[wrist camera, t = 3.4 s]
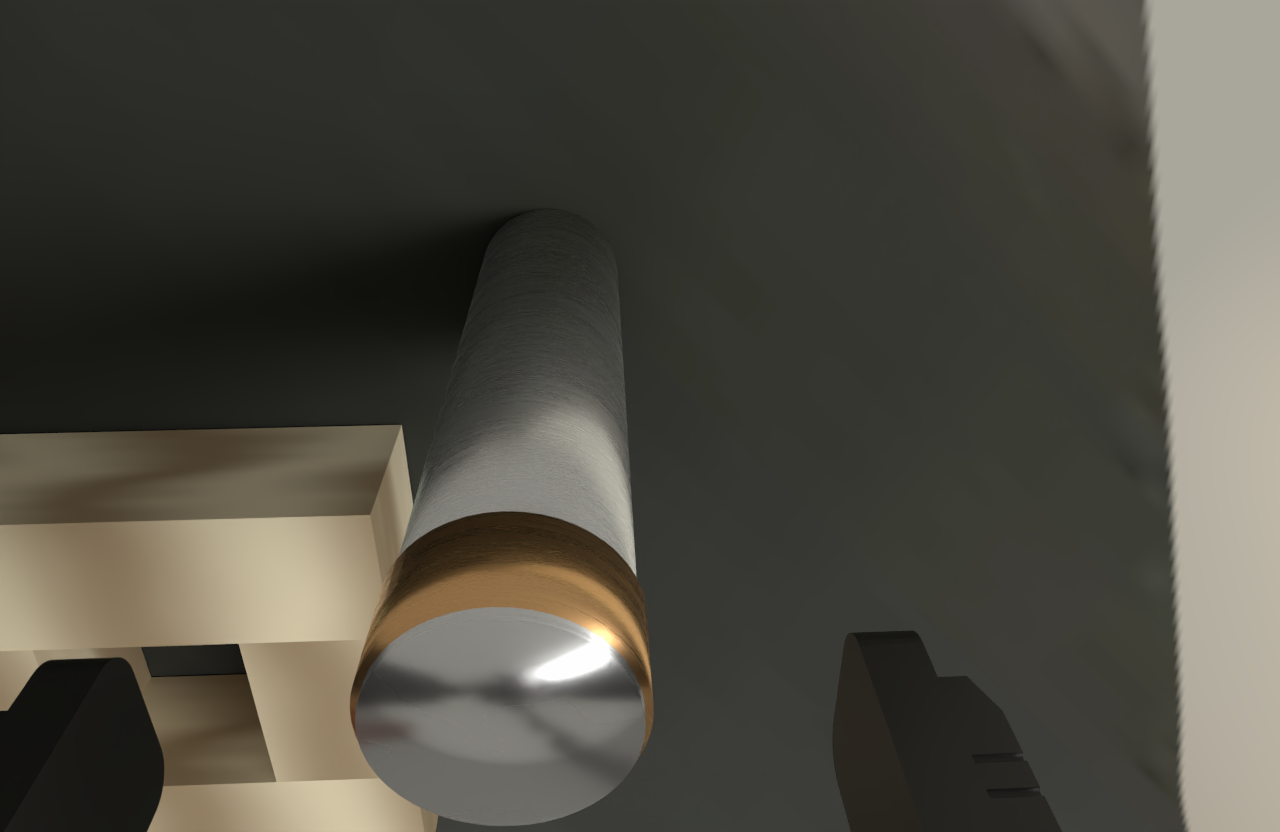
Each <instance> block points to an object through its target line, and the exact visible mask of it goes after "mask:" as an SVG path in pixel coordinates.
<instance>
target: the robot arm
mask: <svg viewBox="0 0 1280 832" xmlns="http://www.w3.org/2000/svg"><path fill="white" fill-rule="evenodd" d="M833 757H834V765H835V772H836V777H837V782H838V786H839V789H840V793H841V797H842V800H843V804H844V808H845V811H846V815H847V819H848V822H849V826H850V830H851V832H1062V831H1061V829H1060V827H1059V825H1058V823H1057V821H1056V819H1055V817H1054V815H1053V813H1052V811H1051V809H1050V807H1049V804H1048V802H1047V800H1046V798H1045V796H1041V794H1040V786H1039V784H1038V782H1037V780H1036V778H1035V776H1034V774H1033V772H1032V770H1031V768H1030V766H1029V764H1028V762H1027V761H1024V759H1023V752H1022V750H1021V748H1020V745H1019V743H1018V741H1017V739H1016V737H1015V735H1014V733H1013V731H1012V729H1011V727H1010V725H1009V723H1008V721H1007V719H1006V717H1005V715H1004V713H1003V711H1002V710H1001V709H1000V708H999V707H998V706H997V705H996V704H995V703H994V702H993V701H992V700H991V699H990V698H989V697H988V696H987V695H986V694H985V693H984V692H983V691H981V690H980V689H979V688H978V687H977V686H976V685H975V684H974V683H973V682H972V681H971V680H970V679H969V678H968V677H967V676H956V677H937V674H936V672H935V670H934V667H933V665H932V663H931V660H930V658H929V656H928V653H927V651H926V649H925V647H924V644H923V642H922V640H921V638H920V637H919V635H918V634H917V633H916V632H915V631H889V632H861V633H849V634H848V635H847V637H846V639H845V643H844V648H843V656H842V663H841V670H840V678H839V685H838V692H837V700H836V707H835V714H834V722H833ZM163 784H164V757H163V752H162V749H161V746H160V743H159V740H158V737H157V735H156V732H155V729H154V726H153V724H152V721H151V718H150V715H149V713H148V710H147V707H146V704H145V701H144V699H143V696H142V693H141V690H140V688H139V685H138V682H137V679H136V677H135V674H134V671H133V669H132V667H131V665H130V664H129V662H128V661H127V660H125V659H124V658H121V657H113V658H85V659H58V660H49V661H46V662H44V663H43V664H41V665H40V666H39V667H38V668H37V669H36V670H35V672H34V673H33V674H32V676H31V677H30V679H29V680H28V682H27V683H26V685H25V686H24V687H23V689H22V690H21V692H20V693H19V695H18V696H17V698H16V699H15V701H14V702H13V703H12V705H11V706H10V708H9V709H8V710H7V711H0V832H147V831H148V829H149V826H150V824H151V822H152V820H153V818H154V815H155V813H156V811H157V808H158V805H159V802H160V799H161V795H162V790H163Z"/></svg>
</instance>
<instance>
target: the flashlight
mask: <svg viewBox="0 0 1280 832" xmlns="http://www.w3.org/2000/svg"><path fill="white" fill-rule="evenodd" d="M653 714H654V709H653V695H652V681H651V668H650V654H649V640H648V627H647V614H646V603H645V599H644V595H643V591H642V589H641V586H640V584H639V582H638V579H637V577H636V562H635V546H634V530H633V514H632V498H631V482H630V466H629V450H628V434H627V418H626V402H625V386H624V370H623V354H622V338H621V322H620V306H619V290H618V274H617V264H616V260H615V256H614V253H613V251H612V248H611V246H610V245H609V243H608V241H607V240H606V238H605V237H604V235H603V234H602V233H601V232H600V231H599V230H598V229H597V228H596V227H595V226H594V225H592V224H591V223H590V222H588V221H587V220H585V219H584V218H582V217H580V216H577V215H575V214H573V213H570V212H566V211H562V210H556V209H541V210H534V211H530V212H526V213H524V214H521V215H519V216H517V217H515V218H513V219H511V220H510V221H508V222H507V223H506V224H504V225H503V226H502V227H501V228H500V229H499V230H498V231H497V233H496V234H495V235H494V236H493V238H492V239H491V241H490V243H489V245H488V247H487V249H486V252H485V256H484V259H483V263H482V266H481V270H480V273H479V277H478V280H477V284H476V287H475V291H474V294H473V298H472V301H471V305H470V308H469V312H468V315H467V319H466V322H465V326H464V329H463V333H462V336H461V340H460V343H459V347H458V350H457V354H456V357H455V361H454V364H453V368H452V371H451V375H450V379H449V382H448V386H447V389H446V393H445V396H444V400H443V403H442V407H441V410H440V414H439V417H438V421H437V424H436V428H435V431H434V435H433V438H432V442H431V445H430V449H429V452H428V456H427V459H426V463H425V466H424V470H423V473H422V477H421V480H420V484H419V487H418V491H417V494H416V498H415V502H414V505H413V509H412V512H411V516H410V519H409V523H408V526H407V530H406V533H405V537H404V540H403V544H402V547H401V551H400V554H399V557H398V558H397V559H396V561H395V562H394V564H393V565H392V567H391V568H390V570H389V571H388V573H387V575H386V577H385V580H384V582H383V584H382V587H381V591H380V594H379V597H378V601H377V604H376V607H375V611H374V614H373V618H372V621H371V624H370V628H369V631H368V634H367V638H366V641H365V645H364V648H363V651H362V655H361V658H360V661H359V665H358V668H357V671H356V675H355V678H354V682H353V686H352V690H351V694H350V716H351V723H352V726H353V729H354V733H355V736H356V738H357V740H358V742H359V746H360V749H361V751H362V753H363V755H364V757H365V759H366V761H367V763H368V764H369V765H370V767H371V768H372V770H373V771H374V772H375V774H376V775H377V776H378V777H379V778H380V779H381V780H382V781H383V782H384V783H385V784H386V785H387V786H388V787H389V788H391V789H392V790H393V791H394V792H396V793H397V794H398V795H400V796H401V797H403V798H404V799H406V800H407V801H409V802H411V803H412V804H414V805H416V806H418V807H420V808H422V809H424V810H426V811H429V812H432V813H434V814H437V815H440V816H442V817H446V818H450V819H453V820H457V821H461V822H467V823H472V824H480V825H491V826H517V825H529V824H535V823H541V822H546V821H550V820H554V819H558V818H561V817H564V816H567V815H570V814H572V813H575V812H578V811H580V810H582V809H584V808H586V807H588V806H590V805H592V804H594V803H595V802H597V801H598V800H600V799H601V798H603V797H605V796H606V795H607V794H608V793H610V792H611V791H612V790H613V789H614V788H616V787H617V786H618V785H619V784H620V783H621V782H622V781H623V779H624V778H625V777H626V776H627V775H628V774H629V772H630V771H631V769H632V768H633V766H634V765H635V763H636V761H637V759H638V758H639V756H640V755H641V753H642V752H643V750H644V748H645V746H646V743H647V741H648V739H649V736H650V732H651V729H652V724H653Z"/></svg>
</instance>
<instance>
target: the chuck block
mask: <svg viewBox="0 0 1280 832" xmlns="http://www.w3.org/2000/svg"><path fill="white" fill-rule="evenodd" d="M412 509H413V500H412V493H411V487H410V480H409V473H408V466H407V459H406V452H405V445H404V438H403V431H402V425H373V426H331V427H289V428H247V429H206V430H164V431H122V432H80V433H38V434H0V711H7V710H8V709H9V708H10V706H11V705H12V703H13V702H14V701H15V699H16V698H17V696H18V695H19V693H20V692H21V690H22V689H23V687H24V686H25V685H26V683H27V682H28V680H29V679H30V677H31V676H32V674H33V673H34V672H35V670H36V669H37V668H38V667H39V666H40V665H41V664H43V663H44V662H46V661H49V660H58V659H85V658H113V657H121V658H124V659H125V660H127V661H128V662H129V664H130V665H131V667H132V669H133V671H134V674H135V677H136V679H137V682H138V685H139V688H140V690H141V693H142V696H143V699H144V701H145V704H146V707H147V710H148V713H149V715H150V718H151V721H152V724H153V726H154V729H155V732H156V735H157V737H158V740H159V743H160V746H161V749H162V752H163V757H164V784H163V790H162V795H161V799H160V802H159V805H158V808H157V811H156V813H155V815H154V818H153V820H152V822H151V824H150V826H149V829H148V831H147V832H436V826H437V820H438V815H437V814H434V813H432V812H429V811H426V810H424V809H422V808H420V807H418V806H416V805H414V804H412V803H411V802H409V801H407V800H406V799H404V798H403V797H401V796H400V795H398V794H397V793H396V792H394V791H393V790H392V789H391V788H389V787H388V786H387V785H386V784H385V783H384V782H383V781H382V780H381V779H380V778H379V777H378V776H377V775H376V774H375V772H374V771H373V770H372V768H371V767H370V765H369V764H368V763H367V761H366V759H365V757H364V755H363V753H362V751H361V749H360V746H359V742H358V740H357V738H356V736H355V733H354V729H353V726H352V723H351V716H350V694H351V690H352V686H353V682H354V678H355V675H356V671H357V668H358V665H359V661H360V658H361V655H362V651H363V648H364V645H365V641H366V638H367V634H368V631H369V628H370V624H371V621H372V618H373V614H374V611H375V607H376V604H377V601H378V597H379V594H380V591H381V587H382V584H383V582H384V580H385V577H386V575H387V573H388V571H389V570H390V568H391V567H392V565H393V564H394V562H395V561H396V559H397V558H398V557H399V554H400V551H401V547H402V544H403V540H404V537H405V533H406V530H407V526H408V523H409V519H410V516H411V512H412ZM213 644H239V647H240V651H241V654H242V658H243V662H244V665H245V669H246V672H247V674H239V675H209V676H178V677H151V675H150V672H149V669H148V666H147V663H146V660H145V658H144V655H143V652H142V649H141V647H150V646H181V645H213Z"/></svg>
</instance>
